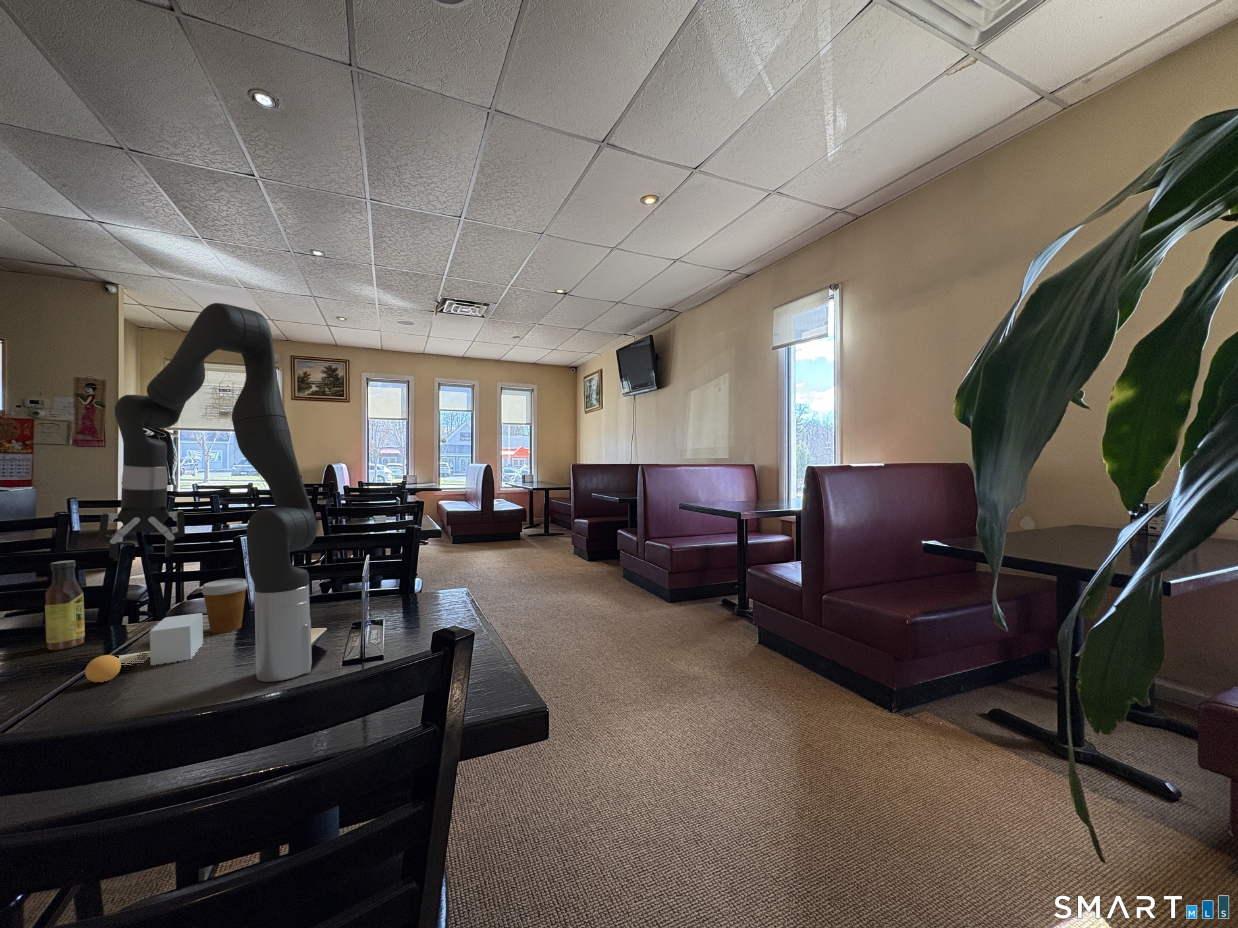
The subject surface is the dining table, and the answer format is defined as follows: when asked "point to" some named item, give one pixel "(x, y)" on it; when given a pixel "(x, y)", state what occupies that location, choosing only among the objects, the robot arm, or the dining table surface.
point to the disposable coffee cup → (225, 604)
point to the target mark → (131, 658)
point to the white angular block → (176, 638)
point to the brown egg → (103, 668)
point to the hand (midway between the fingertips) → (142, 557)
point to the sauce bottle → (64, 608)
